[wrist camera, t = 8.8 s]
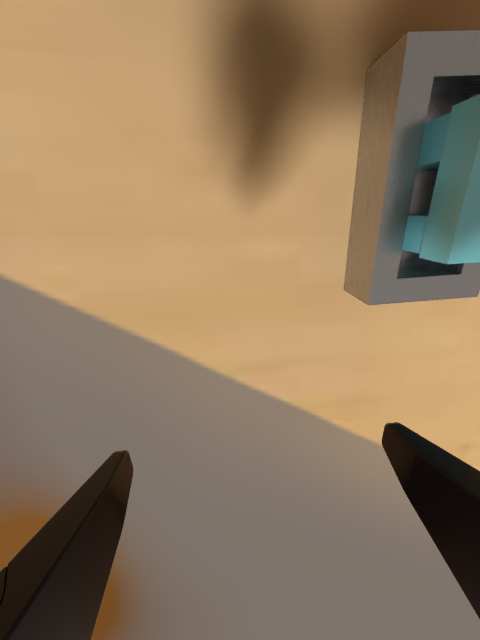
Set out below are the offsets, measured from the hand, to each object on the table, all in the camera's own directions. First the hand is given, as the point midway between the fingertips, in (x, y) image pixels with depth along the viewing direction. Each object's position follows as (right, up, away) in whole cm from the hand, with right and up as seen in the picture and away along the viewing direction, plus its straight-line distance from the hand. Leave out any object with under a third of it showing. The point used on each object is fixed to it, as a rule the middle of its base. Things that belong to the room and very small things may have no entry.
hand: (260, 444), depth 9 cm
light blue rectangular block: (+11, +13, +8) cm, 18 cm away
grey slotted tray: (+11, +13, +9) cm, 19 cm away
